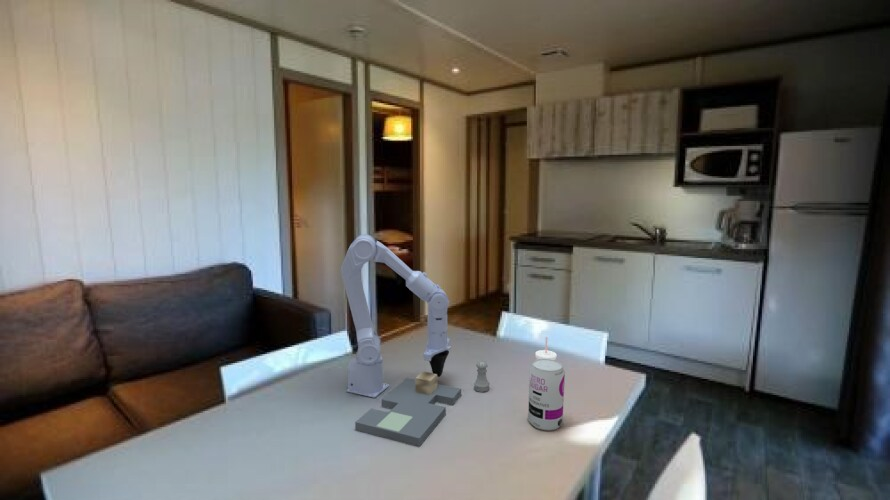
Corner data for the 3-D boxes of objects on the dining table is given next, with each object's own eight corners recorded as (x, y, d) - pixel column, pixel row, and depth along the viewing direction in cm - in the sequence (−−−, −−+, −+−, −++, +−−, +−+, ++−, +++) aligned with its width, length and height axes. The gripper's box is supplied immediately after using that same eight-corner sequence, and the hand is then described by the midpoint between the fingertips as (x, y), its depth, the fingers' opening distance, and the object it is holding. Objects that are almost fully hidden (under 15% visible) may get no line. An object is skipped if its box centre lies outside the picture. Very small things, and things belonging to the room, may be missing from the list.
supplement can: (563, 417, 108) (565, 360, 106) (561, 434, 101) (563, 373, 99) (530, 411, 111) (532, 356, 109) (526, 428, 103) (527, 369, 101)
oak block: (415, 391, 117) (415, 378, 117) (422, 385, 122) (422, 371, 121) (430, 395, 116) (430, 380, 115) (437, 387, 120) (437, 374, 119)
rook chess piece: (488, 393, 121) (489, 366, 120) (472, 391, 122) (473, 364, 121) (490, 386, 125) (490, 359, 124) (474, 384, 126) (475, 358, 125)
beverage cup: (532, 385, 126) (534, 339, 124) (536, 376, 131) (537, 332, 129) (553, 389, 124) (555, 342, 121) (556, 380, 129) (558, 335, 127)
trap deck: (355, 429, 103) (355, 422, 102) (406, 384, 126) (406, 377, 126) (419, 446, 96) (419, 438, 96) (461, 395, 120) (461, 388, 119)
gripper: (440, 340, 115) (440, 388, 117) (459, 324, 128) (459, 368, 130) (416, 337, 118) (416, 384, 120) (438, 322, 131) (438, 364, 133)
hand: (437, 375), depth 125 cm, fingers closed
